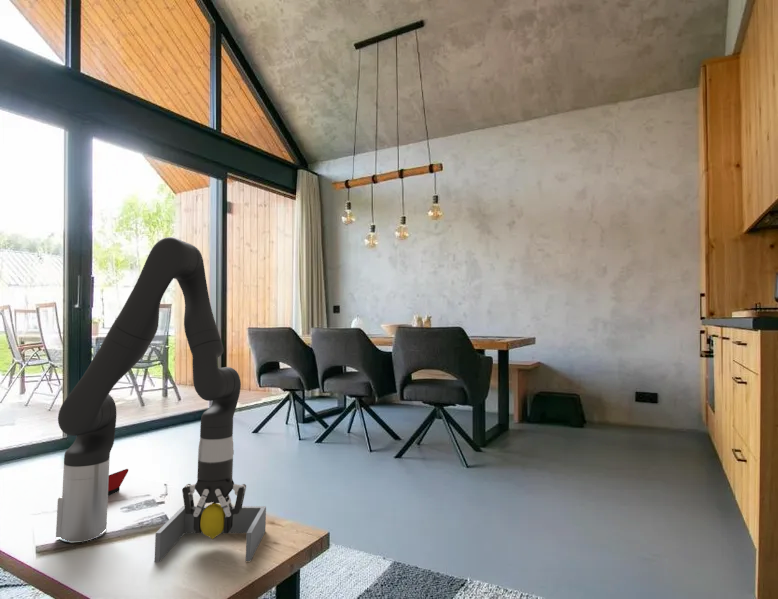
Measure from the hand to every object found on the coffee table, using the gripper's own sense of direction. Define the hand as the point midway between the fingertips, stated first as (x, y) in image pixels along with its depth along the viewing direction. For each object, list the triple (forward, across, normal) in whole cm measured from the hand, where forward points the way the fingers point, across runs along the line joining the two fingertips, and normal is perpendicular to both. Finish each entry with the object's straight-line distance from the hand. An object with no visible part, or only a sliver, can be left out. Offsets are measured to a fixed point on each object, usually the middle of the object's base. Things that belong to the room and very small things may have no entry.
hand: (213, 531), depth 109 cm
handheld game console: (+4, -42, +32) cm, 53 cm away
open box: (+3, 0, +1) cm, 3 cm away
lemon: (+2, 0, 0) cm, 2 cm away
